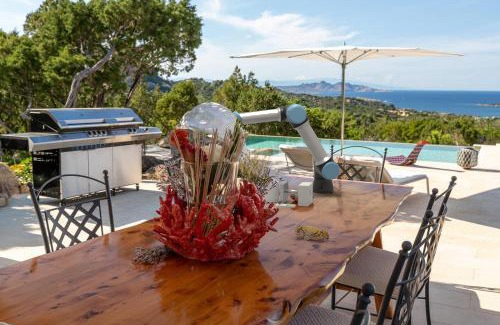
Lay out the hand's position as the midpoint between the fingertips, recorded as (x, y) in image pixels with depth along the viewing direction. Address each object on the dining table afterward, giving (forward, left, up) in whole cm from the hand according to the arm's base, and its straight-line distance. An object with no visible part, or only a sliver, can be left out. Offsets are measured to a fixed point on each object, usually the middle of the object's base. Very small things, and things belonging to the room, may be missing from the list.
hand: (256, 170), depth 282 cm
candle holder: (-7, +7, -18) cm, 21 cm away
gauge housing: (-15, +19, -18) cm, 31 cm away
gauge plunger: (-13, +17, -18) cm, 28 cm away
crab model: (+13, +81, -19) cm, 84 cm away
